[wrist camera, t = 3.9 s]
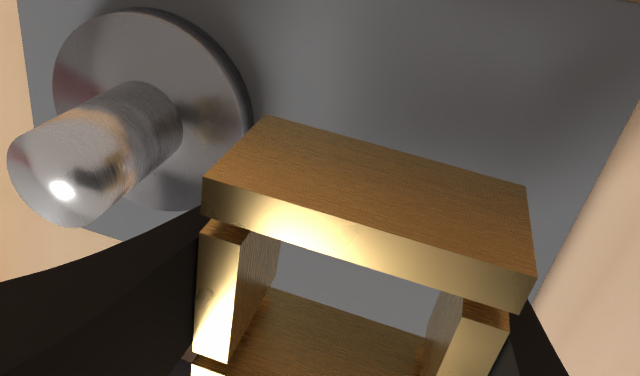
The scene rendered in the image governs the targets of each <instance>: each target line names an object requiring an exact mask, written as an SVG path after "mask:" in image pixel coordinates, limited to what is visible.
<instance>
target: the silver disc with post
mask: <svg viewBox="0 0 640 376" xmlns="http://www.w3.org/2000/svg"><path fill="white" fill-rule="evenodd" d="M52 89H53V99H54V105H55V110H56V113H57V117H55V118H53V119H51V120H49V121H47V122H45V123H44V124H42V125H40V126H38V127H36V128H34V129H32V130H30V131H28V132H26V133H24V134H22V135H20V136H19V137H17V138H16V139H15V140H14V141H13V142H12V143H11V145H10V146H9V149H8V152H7V169H8V173H9V176H10V179H11V181H12V184H13V186H14V187H15V189H16V191H17V192H18V194H19V195H20V197H21V198H22V199H23V200H24V202H25V203H26V204H27V205H28V206H29V207H30V208H31V209H32V210H33V211H35V212H36V213H37V214H38V215H40V216H41V217H43V218H44V219H46V220H48V221H50V222H52V223H54V224H57V225H59V226H63V227H68V228H80V227H84V226H87V225H89V224H90V223H92V222H93V221H94V220H95V219H97V218H98V217H99V216H100V215H101V214H103V213H104V212H105V211H106V210H107V209H109V208H110V207H111V206H112V205H113V204H115V203H116V202H117V201H118V200H119V199H121V198H122V197H123V198H125V199H127V200H129V201H132V202H134V203H136V204H139V205H141V206H144V207H147V208H151V209H155V210H161V211H186V210H191V209H193V208H195V207H197V206H199V205H201V193H202V176H203V175H204V174H205V173H206V172H207V171H208V170H209V169H210V168H211V167H212V166H213V165H215V164H216V163H217V162H218V161H219V160H220V159H221V158H222V157H223V156H224V155H225V154H226V153H227V152H228V151H229V150H230V149H231V148H232V147H233V146H234V145H235V144H236V143H237V142H238V141H239V140H240V139H241V138H242V137H243V136H244V135H245V134H246V133H247V132H248V131H249V130H250V129H251V128H252V127H253V126H254V115H253V108H252V104H251V99H250V96H249V93H248V90H247V87H246V85H245V83H244V81H243V78H242V76H241V74H240V72H239V71H238V69H237V67H236V66H235V64H234V63H233V61H232V60H231V58H230V57H229V56H228V54H227V53H226V52H225V51H224V49H223V48H222V47H221V46H220V45H219V44H218V43H217V42H216V41H215V40H214V39H213V38H212V37H211V36H210V35H208V34H207V33H206V32H205V31H203V30H202V29H201V28H200V27H198V26H196V25H195V24H193V23H192V22H190V21H189V20H187V19H185V18H183V17H180V16H178V15H176V14H174V13H171V12H168V11H164V10H161V9H155V8H150V7H133V8H125V9H122V10H118V11H115V12H112V13H109V14H106V15H102V16H99V17H96V18H93V19H91V20H89V21H87V22H85V23H83V24H81V25H80V26H79V27H78V28H76V29H75V30H74V31H73V32H72V33H71V34H70V35H69V36H68V37H67V39H66V40H65V42H64V43H63V45H62V46H61V48H60V50H59V53H58V55H57V58H56V61H55V65H54V70H53V79H52Z"/></svg>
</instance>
